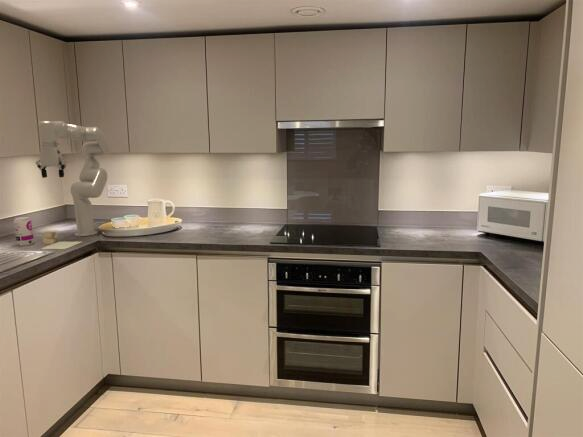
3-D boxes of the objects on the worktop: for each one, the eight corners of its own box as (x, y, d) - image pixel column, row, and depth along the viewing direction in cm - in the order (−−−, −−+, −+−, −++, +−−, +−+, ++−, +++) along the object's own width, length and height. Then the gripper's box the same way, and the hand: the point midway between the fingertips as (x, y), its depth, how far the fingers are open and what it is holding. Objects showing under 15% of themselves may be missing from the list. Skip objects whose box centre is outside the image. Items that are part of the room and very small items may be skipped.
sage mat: (59, 242, 251) (59, 241, 251) (82, 242, 249) (82, 241, 249) (40, 249, 235) (40, 248, 235) (65, 249, 233) (64, 248, 233)
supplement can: (37, 242, 251) (33, 216, 248) (29, 246, 243) (25, 219, 240) (22, 243, 251) (18, 216, 248) (14, 246, 243) (10, 219, 240)
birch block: (49, 241, 252) (48, 231, 251) (57, 241, 251) (56, 231, 250) (43, 244, 247) (42, 233, 246) (51, 244, 246) (50, 233, 245)
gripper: (68, 144, 239) (72, 176, 242) (38, 145, 241) (42, 177, 244) (60, 144, 232) (64, 177, 235) (29, 145, 234) (33, 178, 237)
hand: (53, 177), depth 240 cm, fingers open, 9 cm apart
